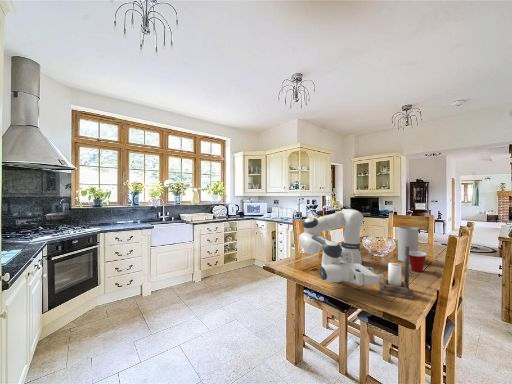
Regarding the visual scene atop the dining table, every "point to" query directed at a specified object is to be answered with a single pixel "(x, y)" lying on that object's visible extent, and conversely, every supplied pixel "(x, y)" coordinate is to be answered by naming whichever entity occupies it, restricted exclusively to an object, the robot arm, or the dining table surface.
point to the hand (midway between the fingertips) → (377, 272)
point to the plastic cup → (417, 260)
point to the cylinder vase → (407, 241)
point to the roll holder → (404, 289)
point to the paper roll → (394, 274)
